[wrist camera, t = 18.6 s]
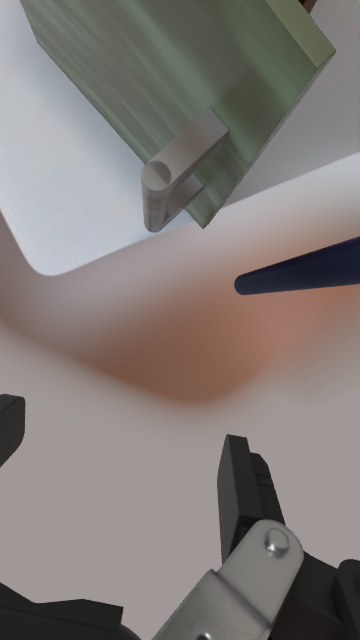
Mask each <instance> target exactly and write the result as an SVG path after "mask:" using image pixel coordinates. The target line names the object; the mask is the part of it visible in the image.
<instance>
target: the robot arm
mask: <svg viewBox="0 0 360 640" xmlns="http://www.w3.org/2000/svg"><path fill="white" fill-rule="evenodd" d="M24 432H25V399H24V398H23V397H20V396H14V395H9V394H2V395H0V467H1V466H2V465H3V464H4V463H5V462H6V461H7V460H8V458H9V457H10V456H11V455H12V454H13V453H14V452H15V451H16V449H17V448H18V447H19V446H20V444H21V442H22V440H23V436H24ZM217 488H218V506H219V520H220V538H221V554H222V566H221V568H220V569H219V570H218V571H217V572H215V571H214V570H213V569H211V570H209V571H208V572H207V573H206V574H205V575H204V576H203V577H202V578H201V579H200V581H199V582H198V583H197V584H196V586H195V587H194V588H193V589H192V591H191V592H190V593H189V594H188V596H187V597H186V598H185V599H184V600H183V602H182V603H181V604H180V605H179V607H178V608H177V609H176V610H175V611H174V613H173V614H172V615H171V616H170V618H169V619H168V620H167V621H166V623H165V624H164V625H163V626H162V628H161V629H160V630H159V631H158V632H157V634H156V635H155V636H154V637H153V639H152V640H360V561H358V560H354V559H348V560H344V561H342V562H341V563H340V565H339V567H338V569H337V568H335V567H332V566H330V565H328V564H326V563H324V562H322V561H320V560H318V559H316V558H314V557H313V556H311V555H309V554H308V553H306V552H305V551H304V550H303V548H302V545H301V543H300V541H299V540H298V538H297V537H296V536H295V535H294V533H293V532H292V531H291V530H290V529H288V528H287V527H286V525H285V521H284V518H283V515H282V511H281V508H280V505H279V502H278V498H277V495H276V491H275V489H274V484H273V481H272V479H271V474H270V471H269V468H268V465H267V463H266V462H265V461H264V459H263V458H262V457H261V456H260V455H259V454H257V453H251V452H250V450H249V446H248V441H247V438H246V437H240V436H235V435H229V434H227V435H226V438H225V442H224V447H223V451H222V455H221V460H220V464H219V469H218V478H217ZM122 614H123V607H121V606H116V605H111V604H106V603H101V602H96V601H91V600H86V599H77V600H67V601H58V602H48V603H33V602H31V601H30V600H28V599H26V598H25V597H23V596H22V595H20V594H18V593H17V592H15V591H13V590H12V589H10V588H9V587H7V586H5V585H4V584H2V583H0V640H141V639H140V638H139V637H138V636H137V635H136V634H135V633H134V632H133V631H131V630H130V629H129V628H127V627H126V626H124V625H122V624H121V620H122Z"/></svg>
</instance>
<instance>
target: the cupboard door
mask: <svg viewBox="0 0 360 640" xmlns="http://www.w3.org/2000/svg"><path fill="white" fill-rule="evenodd" d="M20 2H21V4H22V7H23V9H24V11H25V14H26V16H27V18H28V21H29V23H30V25H31V28H32V30H33V32H34V35H35V37H36V40H37V42H38V44H39V45H40V46H41V47H42V48H43V49H44V50H45V51H46V53H47V54H48V55H49V56H50V57H51V58H52V59H53V61H54V62H55V63H56V64H57V65H58V66H59V67H60V68H61V70H62V71H63V72H64V73H65V74H66V75H67V76H68V77H69V79H70V80H71V81H72V82H73V83H74V84H75V85H76V86H77V88H78V89H79V90H80V91H81V92H82V93H83V94H84V95H85V97H86V98H87V99H88V100H89V101H90V102H91V103H92V105H93V106H94V107H95V108H96V109H97V110H98V111H99V112H100V114H101V115H102V116H103V117H104V118H105V119H106V120H107V121H108V123H109V124H110V125H111V126H112V127H113V128H114V129H115V130H116V132H117V133H118V134H119V135H120V136H121V137H122V138H123V140H124V141H125V142H126V143H127V144H128V145H129V146H130V147H131V149H132V150H133V151H134V152H135V153H136V154H137V155H138V156H139V158H140V159H141V160H142V161H143V162H144V163H145V164H146V165H145V166H144V167H143V170H142V174H141V177H142V194H143V211H144V225H145V227H146V229H147V230H149V231H150V232H159V231H160V230H161V229H163V228H164V227H165V226H166V225H167V224H168V223H169V222H170V221H171V220H172V219H173V218H174V217H176V216H177V215H178V214H179V213H180V212H181V211H182V210H183V209H184V208H185V210H186V211H187V212H188V213H189V214H190V215H191V216H192V217H193V219H194V220H195V221H196V222H197V223H198V224H199V225H200V226H201V228H203V229H204V227H206V226H207V225H208V224H209V223H210V221H211V220H212V219H213V217H214V216H215V215H216V213H217V212H218V211H219V209H220V208H221V207H222V205H223V204H224V203H225V201H226V200H227V198H228V197H229V196H230V194H231V193H232V192H233V190H234V189H235V188H236V186H237V185H238V184H239V182H240V181H241V180H242V178H243V177H244V175H245V174H246V173H247V171H248V170H249V169H250V167H251V166H252V165H253V163H254V162H255V161H256V159H257V158H258V157H259V155H260V154H261V152H262V151H263V150H264V148H265V147H266V146H267V144H268V143H269V142H270V140H271V139H272V138H273V136H274V135H275V134H276V132H277V131H278V129H279V128H280V127H281V125H282V124H283V123H284V121H285V120H286V119H287V117H288V116H289V115H290V113H291V112H292V111H293V109H294V108H295V106H296V105H297V104H298V102H299V101H300V100H301V98H302V97H303V96H304V94H305V93H306V92H307V90H308V89H309V88H310V86H311V85H312V83H313V82H314V81H315V79H316V78H317V77H318V75H319V74H320V73H321V71H322V70H323V69H324V67H325V66H326V65H327V63H328V62H329V60H330V59H331V58H332V56H333V55H334V54H335V52H336V50H335V48H334V47H333V46H332V44H331V43H330V42H329V40H328V39H327V38H326V36H325V35H324V34H323V33H322V31H321V30H320V29H319V27H318V26H317V25H316V23H315V22H314V21H313V19H312V18H311V17H310V15H309V14H308V13H307V11H306V10H305V9H304V7H303V6H302V5H301V4H300V2H299V1H298V0H20Z"/></svg>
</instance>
